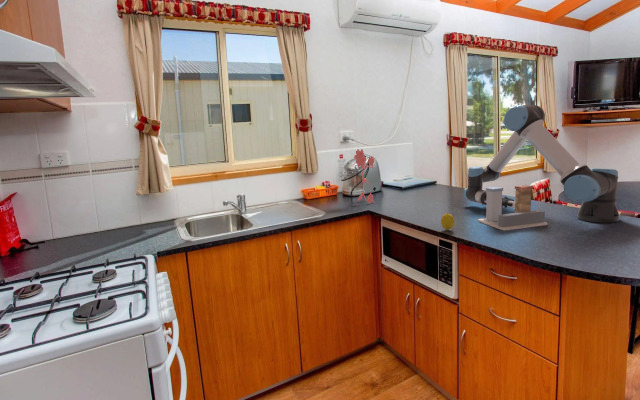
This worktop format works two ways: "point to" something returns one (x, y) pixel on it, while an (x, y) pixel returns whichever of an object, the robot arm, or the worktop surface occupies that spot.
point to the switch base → (517, 220)
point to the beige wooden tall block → (523, 198)
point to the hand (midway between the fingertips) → (519, 206)
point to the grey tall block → (494, 203)
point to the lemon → (447, 221)
